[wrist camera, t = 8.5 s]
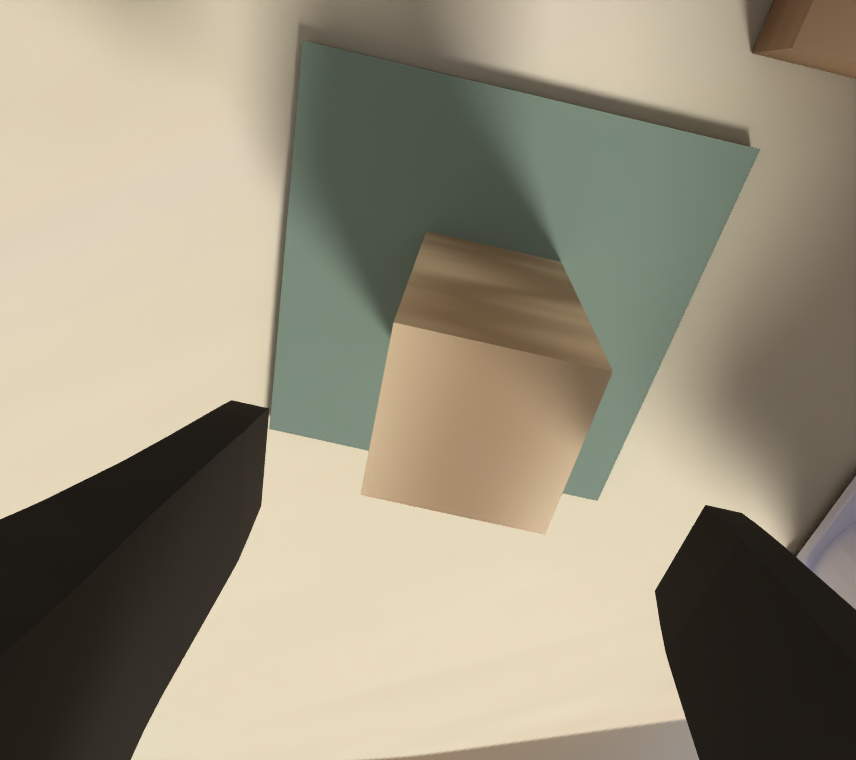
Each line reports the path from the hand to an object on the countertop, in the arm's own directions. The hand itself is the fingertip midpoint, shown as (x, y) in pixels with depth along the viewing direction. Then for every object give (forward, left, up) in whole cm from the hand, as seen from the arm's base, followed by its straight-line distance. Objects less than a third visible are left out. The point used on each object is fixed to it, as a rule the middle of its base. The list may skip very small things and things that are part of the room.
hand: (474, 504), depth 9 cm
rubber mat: (0, 0, -9) cm, 9 cm away
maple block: (0, 0, -9) cm, 9 cm away
